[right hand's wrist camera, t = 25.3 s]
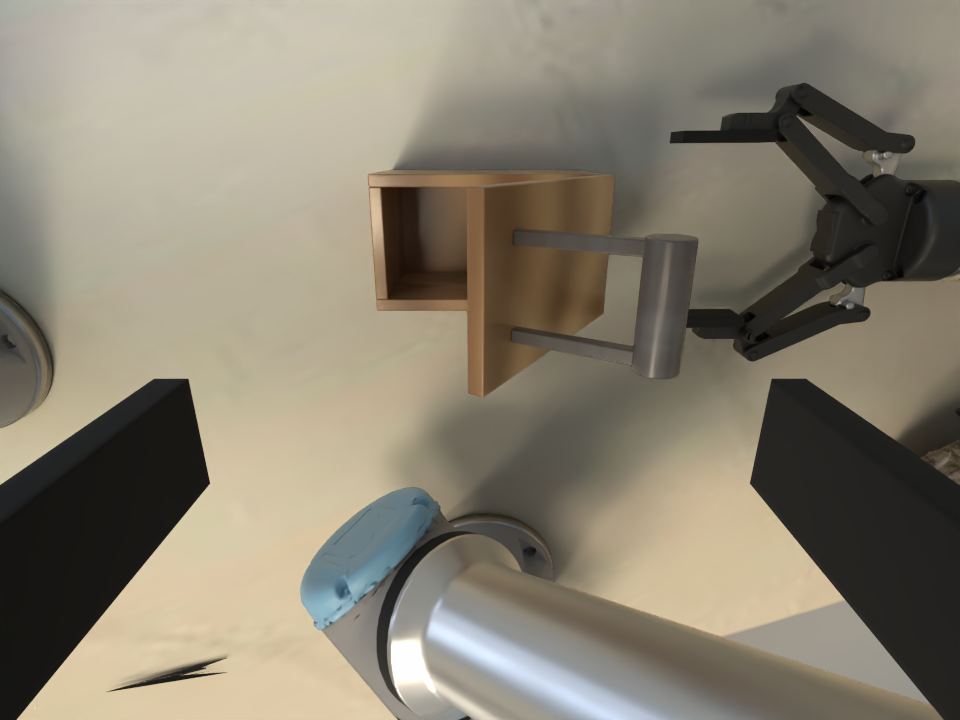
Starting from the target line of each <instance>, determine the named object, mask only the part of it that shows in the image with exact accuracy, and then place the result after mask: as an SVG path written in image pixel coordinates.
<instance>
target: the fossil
mask: <svg viewBox="0 0 960 720" xmlns="http://www.w3.org/2000/svg"><path fill="white" fill-rule="evenodd" d="M956 413H957V414H958V415H959V416H960V408H959V409H957V410H956ZM920 458H921V459H923V460H924V461H926V462H927V463H928V464H930V465H931V466H933V467H934V468H936V469H937V470H939V471H940V472H941V473H943V474H944V475H946V476H947V477H949V478H950V479H952V480H953V481H954V482H956V483H957V484H959V485H960V439H959V440H957V441H955V442H953V443H951V444H949V445H947V446H945V447H942V448H938V449H936V450H934V451H932V452H930V451H929V452H928V454H927V455H925V456H921V457H920Z"/></svg>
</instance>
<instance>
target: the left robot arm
mask: <svg viewBox="0 0 960 720" xmlns="http://www.w3.org/2000/svg"><path fill="white" fill-rule="evenodd" d="M796 115H797V116H799V117H800V118H802V119H804V120H805V121H807V122H809V123H810V124H812V125H814V126H815V127H817V128H819V129H820V130H822V131H824V132H825V133H827V134H829V135H830V136H832V137H834V138H835V139H837V140H839V141H840V142H842V143H844V144H845V145H847V146H849V147H851V148H853V149H856V150H859V151H864V153H863V154H862V157H863V158H864V159H865V161H866V162H867V163H869V164H871V165H872V166H873V174H870V175H868V176H866V177H864V178H863V179H861V180H860V181H858V180H857V179H856V178H855V177H853V176H851V175H849V174H848V173H847V172H846V171H845V170H844V169H843V168H842V166H841V165H840V164H839V163H838V162H837V161H836V160H835V159H834V158H833V156H832V155H831V154H830V153H829V152H828V151H827V150H826V149H825V148H824V147H823V145H822V144H821V143H820V142H819V141H818V140H817V139H816V138H815V137H814V135H813V134H812V133H811V132H810V131H809V130H808V129H807V128H806V127H805V125H804V124H803V123H802V122H801V121H800V120H799V119H798V118H797V117H796ZM760 142H775V143H776V144H777V145H778V146H779V147H780V148H781V149H782V150H783V151H784V152H785V153H786V155H787V156H788V157H789V158H790V159H791V160H792V161H793V162H794V163H795V164H796V165H797V166H798V167H799V169H800V170H801V171H802V172H803V173H804V174H805V175H806V176H807V177H808V178H809V179H810V180H811V181H812V183H813V184H814V185H815V186H816V187H815V189H816V190H817V192H818V193H819V194H820V195H821V196H822V197H823V198H824V199H825V200H826V201H827V203H826V204H825V206H824V207H823V209H822V210H818V215H817V220H816V221H817V232H816V234H815V236H814V238H813V240H812V244H811V249H810V250H811V251H813V254H814V257H813V258H812V259H810V260H809V261H808V262H806V263H805V264H803V265H802V266H801V267H800V268H799V269H798V272H797V273H796V274H795V275H793V276H792V277H790V278H789V279H788V280H786V281H785V282H783V283H782V284H781V285H779V286H778V287H777V288H775V289H774V290H772V291H771V292H770V293H768V294H767V295H765V296H764V297H763V298H761V299H760V300H759V301H757V302H756V303H754V304H753V305H752V306H750V307H749V308H747V309H746V310H745V311H743V312H742V313H740V314H739V315H738V314H737V313H735V312H734V311H732V310H730V309H689V311H688V318H687V325H686V328H692V332H694V333H695V334H696V335H697V336H698V337H701V338H704V339H734V344H733V348H734V349H735V350H736V351H737V352H738V353H740V354H741V355H742V356H743V357H745V358H746V359H747V360H749V361H756V360H758V359H761V358H763V357H765V356H768V355H770V354H772V353H775V352H777V351H779V350H781V349H784V348H786V347H788V346H791V345H793V344H795V343H798V342H800V341H802V340H805V339H807V338H809V337H812V336H814V335H816V334H818V333H821V332H823V331H825V330H828V329H830V328H832V327H835V326H837V325H839V324H846V323H855V322H863V321H865V320H867V319H868V318H869V316H870V310H869V308H867V307H864V306H863V302H864V294H865V287H867V286H869V285H871V284H873V283H876V282H880V281H936V280H940V281H960V181H954V180H900V179H898V178H897V177H896V176H894V174H895V171H896V168H897V166H898V163H899V160H900V157H901V154H902V153H908V152H910V151H911V150H912V149H913V147H914V146H915V138H914V137H913V136H911V135H904V134H896V133H888V132H885V131H884V130H882V129H880V128H879V127H877V126H875V125H874V124H872V123H871V122H869V121H867V120H866V119H864V118H862V117H861V116H859V115H858V114H856V113H854V112H853V111H851V110H849V109H848V108H846V107H845V106H843V105H841V104H840V103H838V102H836V101H835V100H833V99H831V98H830V97H828V96H827V95H825V94H823V93H822V92H820V91H818V90H817V89H815V88H814V87H812V86H810V85H809V84H806V83H802V84H797V85H793V86H788V87H784V88H781V89H780V90H779V91H778V92H777V94H776V102H775V104H774V106H773V108H772V109H771V110H770V111H769V112H767V113H735V114H729V115H727V116H724V117H722V123H721V131H678V132H671V138H670V143H760ZM824 269H827V270H824ZM840 282H842V283H844V284H846V286H845V289H844V290H843V291H842V292H841V293H839V294H836V295H832V296H830V297H829V301H827V302H822V303H819V304H816V305H813V306H811V307H809V308H807V309H804V310H802V311H800V312H797V313H795V314H793V315H791V316H788V317H786V318H784V317H785V316H787V315H788V314H789V313H791V312H792V311H794V310H795V309H796V308H798V307H799V306H801V305H802V304H804V303H805V302H806V301H808V300H809V299H811V298H812V297H814V296H815V295H816V294H818V293H819V292H821V291H822V290H826V289H830V288H832V287H834V286H835V285H837V284H838V283H840ZM782 318H784V319H782ZM781 319H782V320H781ZM300 596H301V601H302V603H303V605H304V607H305V608H306V610H307V611H308V613H309V614H310V615H311V617H312V618H313V620H314V626H315V627H316V628H317V629H318V630H322V631H323V633H324V634H325V635H326V636H327V637H328V639H329V640H330V641H331V642H332V643H333V644H334V646H335V647H336V648H337V649H338V650H339V652H340V653H341V654H342V655H343V656H344V657H345V659H346V660H347V661H348V662H349V663H350V665H351V666H352V667H353V668H354V669H355V670H356V672H357V673H358V674H359V675H360V676H361V678H362V679H363V680H364V681H365V682H366V683H367V685H368V686H369V687H370V688H371V689H372V691H373V692H374V693H375V694H376V695H377V696H378V698H379V699H380V700H381V701H382V702H383V704H384V705H385V706H386V707H387V708H388V709H389V711H390V712H391V713H392V714H393V715H394V716H395V717H396V718H397V719H398V720H943V718H942V717H941V716H940V715H939V714H938V712H937V711H936V710H935V709H934V707H933V706H932V705H930V704H927V703H924V702H921V701H918V700H915V699H912V698H909V697H906V696H902V695H900V694H896V693H893V692H890V691H887V690H884V689H881V688H878V687H875V686H872V685H869V684H865V683H862V682H859V681H856V680H853V679H850V678H847V677H844V676H841V675H838V674H835V673H832V672H829V671H825V670H822V669H819V668H816V667H813V666H810V665H807V664H804V663H801V662H798V661H794V660H791V659H788V658H785V657H782V656H779V655H776V654H773V653H770V652H767V651H764V650H760V649H757V648H754V647H751V646H748V645H745V644H742V643H739V642H736V641H733V640H730V639H726V638H723V637H720V636H717V635H714V634H711V633H708V632H705V631H702V630H699V629H696V628H693V627H689V626H686V625H683V624H680V623H677V622H674V621H671V620H668V619H665V618H662V617H659V616H656V615H652V614H649V613H646V612H643V611H640V610H637V609H634V608H631V607H628V606H625V605H622V604H619V603H616V602H612V601H609V600H606V599H603V598H600V597H597V596H594V595H591V594H588V593H585V592H582V591H579V590H576V589H573V588H570V587H566V586H563V585H560V584H557V583H554V569H553V563H552V558H551V554H550V552H549V549H548V547H547V545H546V544H545V542H544V541H543V539H542V538H541V537H540V536H539V535H538V534H537V533H536V532H535V531H534V530H532V529H531V528H530V527H528V526H527V525H525V524H523V523H521V522H519V521H517V520H515V519H512V518H509V517H505V516H500V515H493V514H478V515H471V516H466V517H462V518H459V519H456V520H454V521H452V522H450V523H449V522H448V521H447V520H446V519H445V517H444V516H443V514H442V513H441V511H440V505H439V504H438V502H437V501H434V500H433V499H432V497H431V496H430V495H429V494H428V493H427V492H426V491H424V490H423V489H420V488H415V487H410V488H403V489H399V490H396V491H394V492H391V493H389V494H387V495H385V496H383V497H381V498H379V499H377V500H376V501H374V502H373V503H371V504H369V505H368V506H366V507H365V508H363V509H362V510H361V511H359V512H358V513H357V514H355V515H354V516H353V517H352V518H350V519H349V520H348V521H347V522H346V523H345V524H343V525H342V526H341V527H340V528H339V529H338V530H337V531H336V532H335V533H334V534H333V535H332V536H331V537H330V538H329V539H328V540H327V541H326V543H325V544H324V545H323V546H322V547H321V548H320V550H319V551H318V552H317V554H316V555H315V556H314V558H313V559H312V561H311V563H310V565H309V567H308V568H307V570H306V572H305V574H304V577H303V580H302V583H301V589H300Z"/></svg>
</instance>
